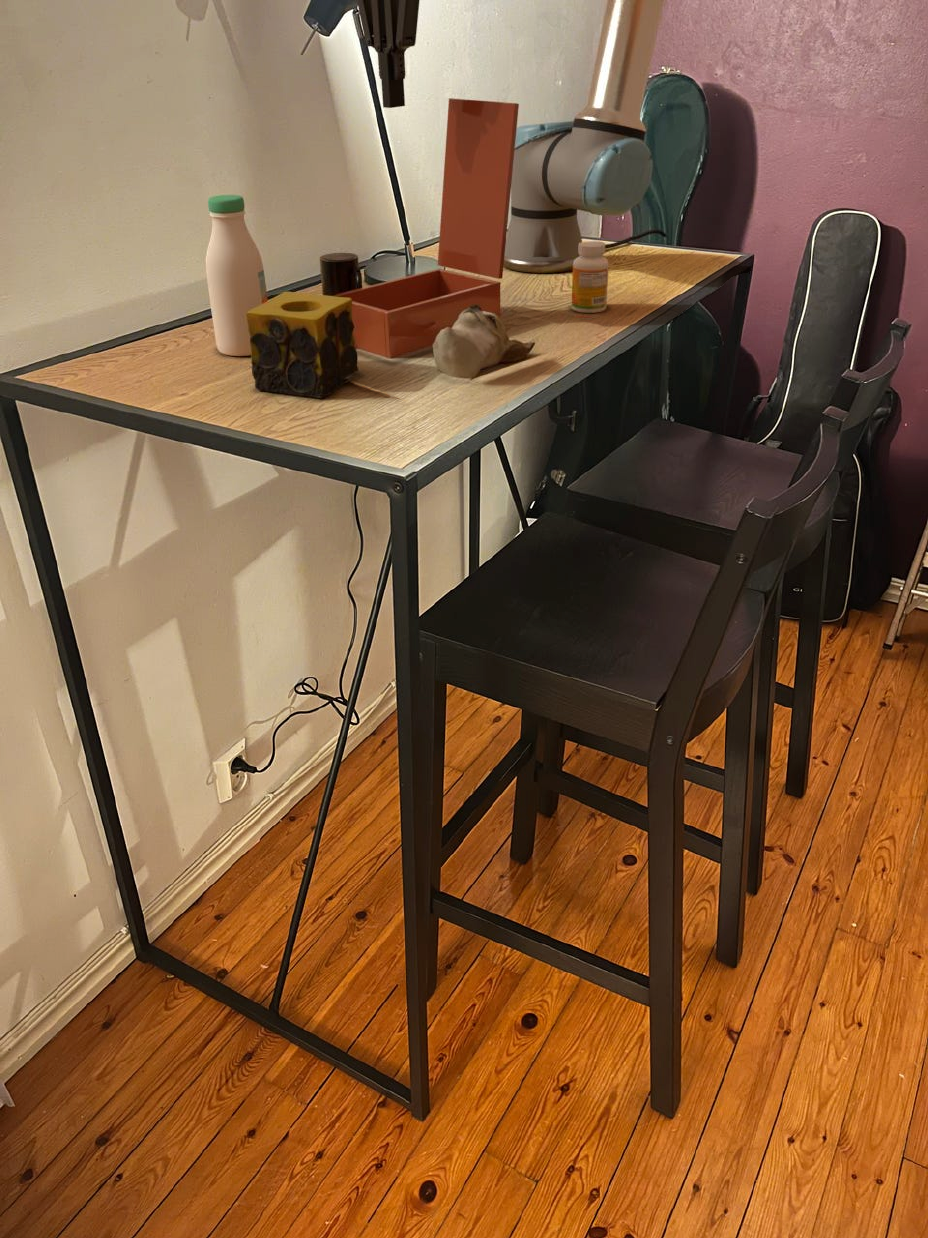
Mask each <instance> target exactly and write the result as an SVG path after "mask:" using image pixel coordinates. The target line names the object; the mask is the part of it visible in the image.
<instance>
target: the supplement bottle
mask: <svg viewBox="0 0 928 1238" xmlns="http://www.w3.org/2000/svg"><path fill="white" fill-rule="evenodd" d="M605 245H606V243H605V242H603V241H599V240H585V241H582V242H581V243H579V247H578V254H580V256H579V257H578V258H576V259H575V260H574V262H573V270H572V279H571V280H572V281H571V309H572V310H573V311H575V312H577V313H583V314H594V313H600V312H604V311H605V310H606V309H607V306H608V305H607V303H608V285H609V284H608V283H609V264H610V263H609V260H608V259H607V257H605V256H604V255H605V253H606V249H605Z"/></svg>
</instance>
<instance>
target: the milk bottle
mask: <svg viewBox="0 0 928 1238" xmlns="http://www.w3.org/2000/svg"><path fill="white" fill-rule="evenodd" d="M207 205H208V206H207V207H208V210H209V216H210V217H211V219H212V221H211V222H212V225H211V234H210V238H209V242H208V244H207V248H206V255H205V273H206V281H207V289H208V295H209V303H210V310H211V317H212V324H213V325H212V326H213V332H214V337H215V343H216V349H217V350H218V352H220V353H221V354H223V355H226V356H233V357H234V356H235V357H245V356H246V357H247V356H251V346H250V333H249V330H248V322H247V316H246V313H247V312H248V311H250V310H252V309H253V308H255V307H257V306H259V305H261V304H263V303H265V302H267V301H269V300H268V292H267V284H266V277H265V270H264V263H263V260H262V256H261V254H260V251H259V247H258V246H257V244H256V243H255V241H254V239H253V238H252V235H251V233H250V232H249V229H248V226H247V223H246V221H245V214H246V212H245V200H244V197H243V195H239V194H219V195H213V196H211V197H209V198H208V199H207Z"/></svg>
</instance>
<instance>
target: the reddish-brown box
mask: <svg viewBox="0 0 928 1238" xmlns="http://www.w3.org/2000/svg"><path fill="white" fill-rule="evenodd" d="M332 296H334V297H345V298H351V299H352V322H353V324H354V329H353V334H354V341H355V348H356V349H358V350H361V351H365V352H368V353H371V354H374V355H377V356H381V357H384V358H387V359H390V360H391V359H394V358H397V357H400V356H403V355H407V354H410V353H412V352H416V351H419V350H422V349H426V348H429V347H433V344H434V342H435V339H436V337H437V335H438V334H439V332H440V331H441V330H442V329H445V328H446V327H449V328H452V327H453V325H454V323H455V322H456V321H457V320H458V317H459V315H460V314H461V313H462V312H463V311H464V310H466V309H468V308H469V307H470V306H472V305H478V306H480V308H481V310H482V311H485V312H490V313H493V314H496V315H497V316H498V317H499V318H500V319H501V282H500V281H497V280H493V279H488V278H484V277H480V276H475V275H470V274H466V273H461V272H458V271H453V270H447V269H443V268H436V269H432V270H428V271H424V272H419V273H416V274H412V275H408V276H404V277H401V278H396V279H392V280H388V281H384V282H379V283H376V284H372V285H368V286H364V287H362V288H360V289H356V290H352V291H348V292H344V293H340V294H336V295H332Z"/></svg>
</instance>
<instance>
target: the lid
mask: <svg viewBox="0 0 928 1238" xmlns="http://www.w3.org/2000/svg"><path fill="white" fill-rule="evenodd" d="M519 107H520V104H519V103H517V102H505V101H504V102H503V101H493V100H492V101H491V100H490V101H489V100H479V99H477V100H476V99H465V98H452V97H451V98H448V107H447V109H448V110H447V119H446V121H447V122H446V135H445V150H444V151H445V153H444V165H443V181H442V193H441V195H442V196H441V209H440V210H441V211H440V223H439V238H438V240H439V241H438V251H437V252H438V253H437V254H438V255H437V266H438V267H439V266H440V267H444V268H448V269H452V270H457V271H461V272H466V273H471V274H475V275H476V274H477V275H480V276H485V277H489V278H493V279H499V280H500V279H501V280H502V279H503V276H504V256H505V245H506V235H507V230H508V225H509V222H508V221H509V213H510V204H511V182H512V172H513V161H514V151H515V140H516V130H517V127H518V120H519V119H518V117H519Z"/></svg>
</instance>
